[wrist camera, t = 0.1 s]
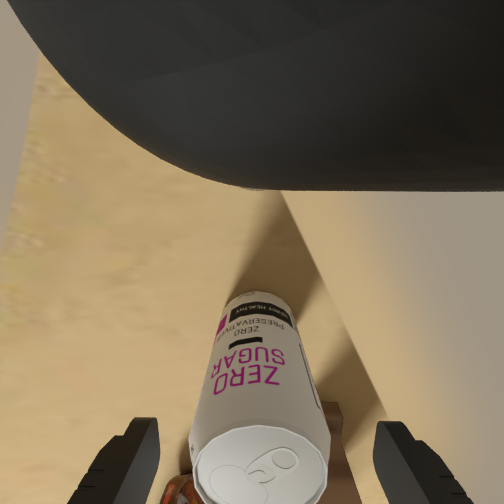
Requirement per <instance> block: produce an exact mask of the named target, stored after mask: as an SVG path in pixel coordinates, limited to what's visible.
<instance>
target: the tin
mask: <svg viewBox="0 0 504 504" xmlns="http://www.w3.org/2000/svg"><path fill="white" fill-rule="evenodd" d="M160 504H205V503H204V501H203V500H202V498H201V497H200V495H199V493H198V492H197V490H196V489H195V486H194V478H193V473H190V474H188V475H180V476H176V477H174V478H172V479H171V480H170V481H169V482H168V484H167V486H166V488H165V491H164V493H163V495H162V498H161V501H160Z"/></svg>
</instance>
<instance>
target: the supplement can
mask: <svg viewBox="0 0 504 504" xmlns="http://www.w3.org/2000/svg"><path fill="white" fill-rule="evenodd" d="M188 440H189V448H190V456H191V461H192V465H193V470H192V471H193V478H194V486H195V489H196V490H197V492H198V493H199V495H200V497H201V498H202V500H203V501H204V503H205V504H316V503H317V502H318V501H319V499H320V497H321V495H322V494H323V492H324V490H325V488H326V486H327V474H328V468H327V467H328V462H329V457H330V442H331V436H330V432H329V429H328V426H327V423H326V419H325V416H324V413H323V410H322V407H321V403H320V400H319V397H318V394H317V390H316V387H315V384H314V381H313V377H312V374H311V371H310V368H309V364H308V361H307V358H306V355H305V351H304V348H303V345H302V342H301V339H300V335H299V332H298V329H297V326H296V322H295V319H294V317H293V314H292V312H291V309H290V307H289V306H288V305H287V304H286V303H285V302H284V301H283V300H282V299H281V298H279V297H277V296H275V295H273V294H271V293H267V292H260V291H254V292H249V293H243V294H241V295H240V296H238V297H236V298H234V299H233V300H231V301H230V303H229V304H228V305H227V306H226V307H225V309H224V310H223V313H222V316H221V319H220V322H219V326H218V330H217V334H216V337H215V341H214V345H213V348H212V352H211V356H210V360H209V363H208V367H207V371H206V375H205V378H204V382H203V386H202V390H201V393H200V397H199V401H198V405H197V408H196V412H195V416H194V419H193V423H192V427H191V431H190V434H189V438H188Z"/></svg>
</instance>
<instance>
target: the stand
mask: <svg viewBox="0 0 504 504" xmlns="http://www.w3.org/2000/svg"><path fill="white" fill-rule="evenodd" d="M320 403H321V407H322V410H323V413H324V416H325V419H326V423H327V426H328V429H329V432H330V436H331V442H330V457H329V462H328V467H327V468H328V474H327V486H326V488H325V490H324V492H323V494H322V495H321V497H320V499H319V501H318V502H317V503H316V504H362V502H361V499H360V496H359V493H358V490H357V487H356V484H355V481H354V478H353V475H352V472H351V469H350V467H349V464H348V461H347V458H346V455H345V452H344V449H343V446H342V443H341V432H342V424H343V416H342V413H341V411H340V408H339V405H338V403H324V402H320Z"/></svg>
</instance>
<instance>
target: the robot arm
mask: <svg viewBox="0 0 504 504" xmlns="http://www.w3.org/2000/svg"><path fill="white" fill-rule="evenodd" d="M7 1H8V2H9V4H10V6H11V7H12V9H13V11H14V12H15V14H16V16H17V17H18V19H19V20H20V22H21V24H22V25H23V27H24V28H25V29H26V31H27V32H28V33H29V35H30V36H31V38H32V39H33V41H34V42H35V43H36V45H37V46H38V48H39V49H40V50H41V52H42V53H43V55H44V56H45V57H46V58H47V59H48V61H49V62H50V63H51V64H52V65H53V67H54V68H55V69H56V70H57V71H58V72H59V74H60V75H61V76H62V77H63V78H64V80H65V81H66V82H67V83H68V84H69V85H70V86H71V87H72V88H73V89H74V90H75V91H76V92H77V93H78V94H79V95H80V96H81V97H82V98H83V99H84V100H85V101H86V102H87V104H88V105H89V106H91V107H92V108H93V109H94V110H95V111H96V112H97V113H98V114H100V115H101V116H102V117H103V118H104V119H105V120H106V121H108V122H109V123H110V124H111V125H112V126H113V127H114V128H116V129H117V130H118V131H120V132H121V133H122V134H124V135H125V136H127V137H128V138H129V139H131V140H132V141H133V142H135V143H136V144H137V145H139V146H141V147H142V148H144V149H146V150H147V151H149V152H150V153H152V154H154V155H155V156H157V157H159V158H160V159H162V160H164V161H166V162H168V163H170V164H173V165H175V166H177V167H179V168H181V169H183V170H185V171H187V172H190V173H193V174H195V175H198V176H201V177H203V178H206V179H209V180H213V181H217V182H221V183H224V184H228V185H234V186H238V187H241V188H244V189H245V188H246V189H248V190H256V191H262V190H291V191H298V190H299V191H425V192H426V191H427V192H430V191H431V192H446V191H447V192H460V191H461V192H468V191H469V192H475V191H477V192H478V191H481V192H484V191H486V192H489V191H490V192H491V191H504V0H7ZM159 460H160V442H159V432H158V422H157V419H156V418H150V417H135V418H134V419H133V420H132V421H131V423H130V424H129V426H128V428H127V430H126V431H125V433H124V435H123V436H116V435H115V436H114V437H113V438H112V439H111V440H110V441H109V442H108V443H107V444H106V445H105V446H104V447H103V448H102V449H101V450H100V451H99V453H98V454H97V456H96V458H95V459H94V461H93V462H92V464H91V466H90V467H89V469H88V472H87V473H86V474H85V475H84V477H83V479H82V480H81V482H80V484H79V485H78V489H77V490H75V492H74V493H73V495H72V497H71V498H70V500H69V501H68V503H67V504H145V503H146V500H147V497H148V495H149V492H150V489H151V486H152V484H153V481H154V478H155V475H156V472H157V469H158V465H159ZM373 462H374V467H375V471H376V474H377V477H378V479H379V481H380V483H381V486H382V488H383V490H384V492H385V495H386V497H387V499H388V502H389V504H474V503H473V502H472V500H471V499H470V498H468V497H467V495H466V492H465V491H464V490H463V488H462V487H461V485H460V484H459V483H458V481H457V480H455V479H454V476H453V475H452V473H451V471H450V470H449V469H448V467H447V466H446V465H445V463H444V462H443V460H442V459H441V458H440V456H439V455H438V454H436V453H435V452H434V451H433V450H432V449H431V448H430V447H429V446H428V445H427V444H426V443H424V442H423V441H422V440H418V441H417V440H415V439H414V438H413V436H412V435H411V433H410V432H409V430H408V429H407V427H406V426H405V425H404V424H403V423H402V422H400V421H379V422H378V423H377V428H376V435H375V442H374V449H373Z"/></svg>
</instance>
